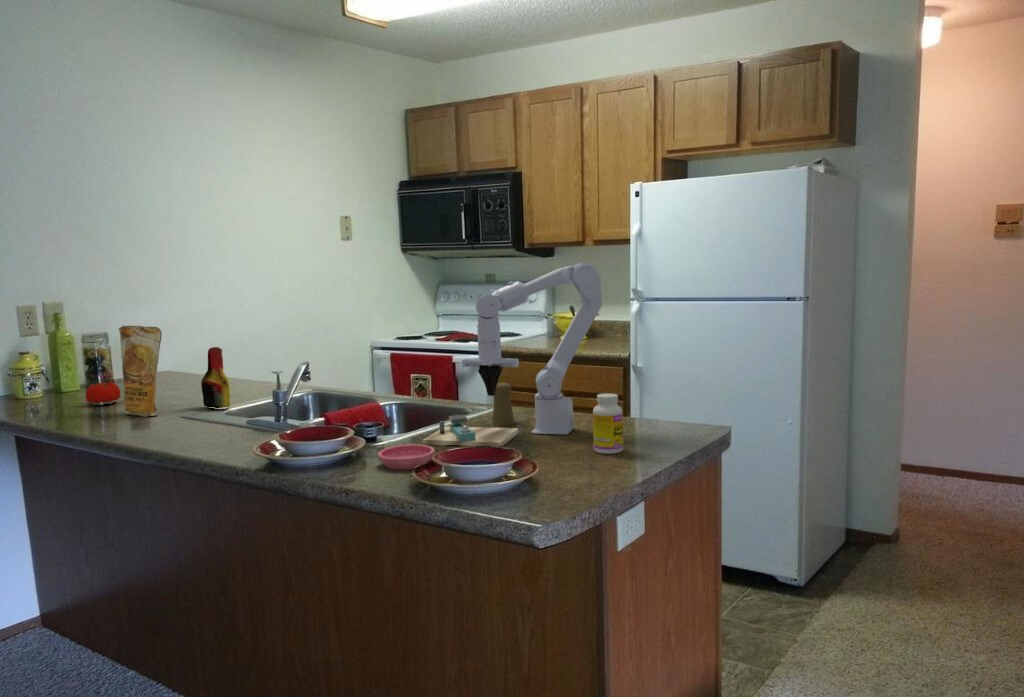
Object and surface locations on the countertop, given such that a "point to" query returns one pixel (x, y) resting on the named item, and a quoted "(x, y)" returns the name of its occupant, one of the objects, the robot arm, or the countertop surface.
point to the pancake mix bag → (140, 366)
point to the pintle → (465, 428)
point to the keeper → (453, 421)
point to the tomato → (102, 392)
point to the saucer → (406, 456)
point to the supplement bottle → (608, 425)
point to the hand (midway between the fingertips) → (491, 395)
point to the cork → (502, 405)
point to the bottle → (215, 381)
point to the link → (460, 435)
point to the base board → (481, 437)
